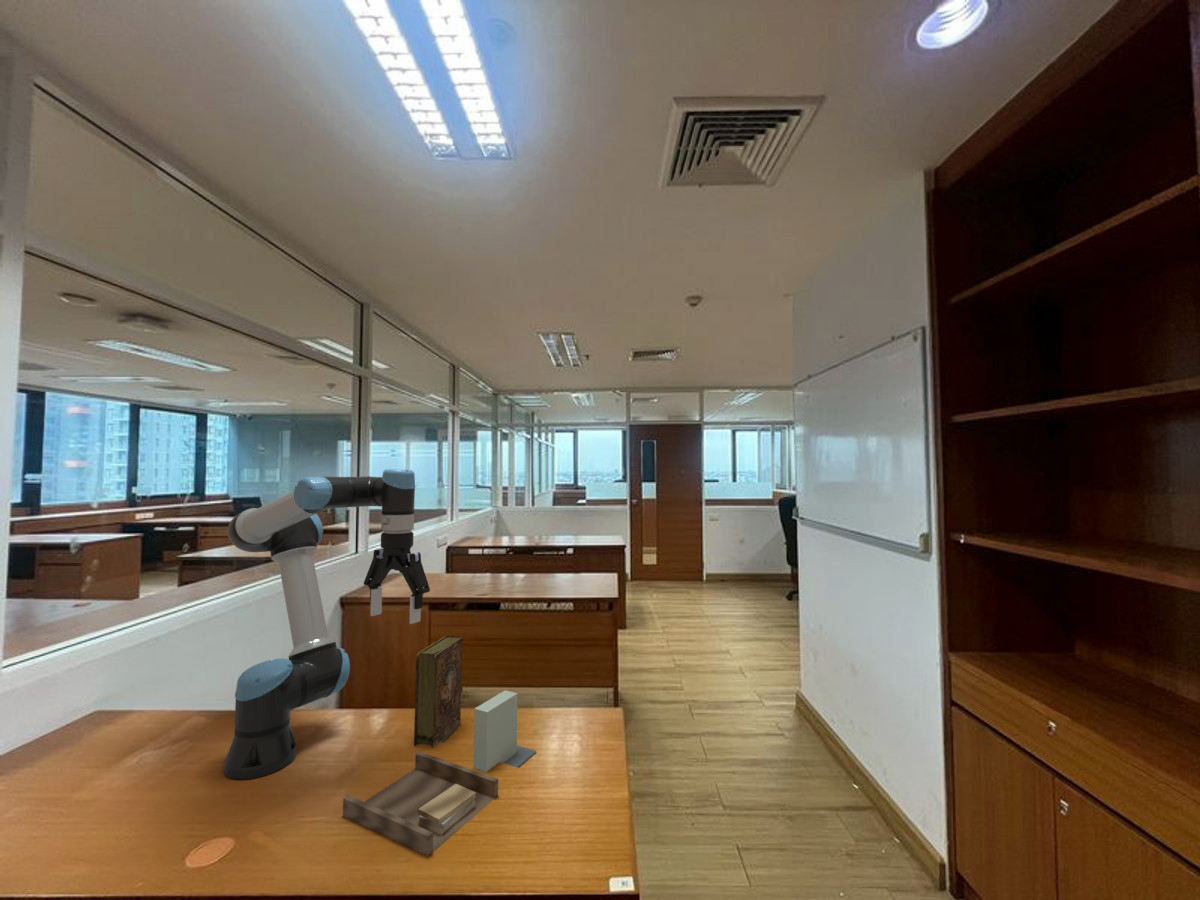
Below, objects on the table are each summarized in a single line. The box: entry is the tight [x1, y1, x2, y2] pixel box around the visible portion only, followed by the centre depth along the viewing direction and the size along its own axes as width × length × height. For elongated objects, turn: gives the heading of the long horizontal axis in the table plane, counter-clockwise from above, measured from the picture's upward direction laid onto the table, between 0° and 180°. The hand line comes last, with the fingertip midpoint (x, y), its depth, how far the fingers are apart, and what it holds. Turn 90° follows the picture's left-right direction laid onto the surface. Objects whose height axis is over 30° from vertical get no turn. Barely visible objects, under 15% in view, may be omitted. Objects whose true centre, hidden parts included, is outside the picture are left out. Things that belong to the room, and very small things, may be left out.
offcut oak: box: [418, 784, 476, 825], centre depth 106 cm, size 6×10×1 cm, turn 149°
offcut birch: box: [418, 801, 475, 835], centre depth 106 cm, size 6×10×1 cm, turn 153°
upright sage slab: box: [472, 690, 519, 773], centre depth 128 cm, size 4×12×15 cm, turn 153°
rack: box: [342, 751, 499, 857], centre depth 109 cm, size 24×20×5 cm
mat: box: [503, 744, 537, 769], centre depth 128 cm, size 12×18×1 cm, turn 153°
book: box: [413, 635, 463, 749], centre depth 141 cm, size 16×6×25 cm, turn 168°
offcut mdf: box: [419, 799, 474, 830], centre depth 106 cm, size 6×10×1 cm, turn 158°
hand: (395, 618), depth 125 cm, fingers open, 13 cm apart
